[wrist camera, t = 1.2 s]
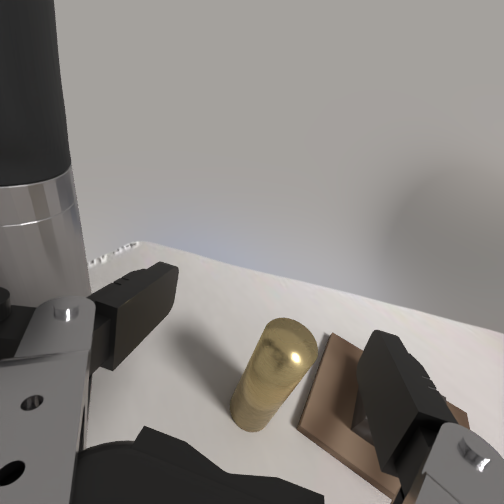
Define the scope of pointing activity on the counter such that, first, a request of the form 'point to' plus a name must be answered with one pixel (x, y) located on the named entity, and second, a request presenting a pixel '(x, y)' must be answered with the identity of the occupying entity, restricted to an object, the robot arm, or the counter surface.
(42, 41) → the robot arm
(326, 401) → the mounting plate
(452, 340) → the counter surface
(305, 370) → the post
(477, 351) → the counter surface
